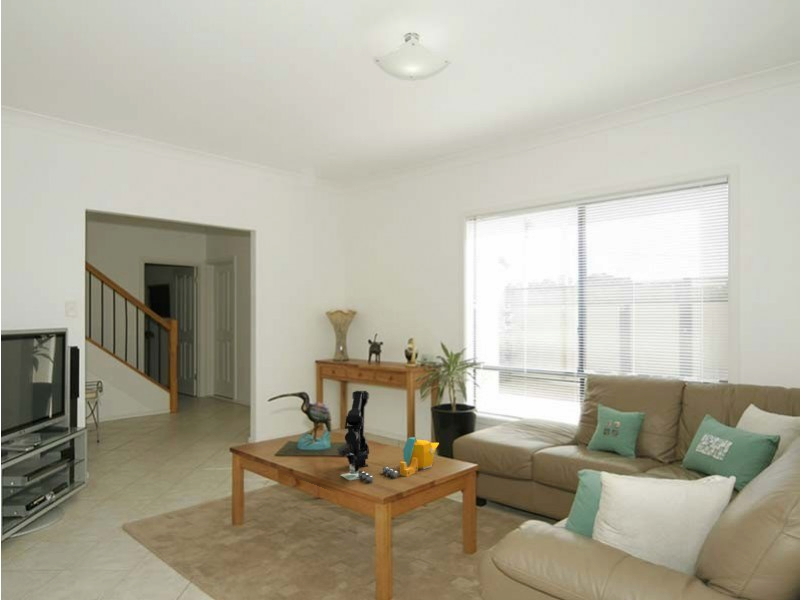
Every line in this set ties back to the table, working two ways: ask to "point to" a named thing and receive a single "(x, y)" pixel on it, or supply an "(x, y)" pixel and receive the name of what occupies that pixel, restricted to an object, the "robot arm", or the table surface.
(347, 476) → the sage mat
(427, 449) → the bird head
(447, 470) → the table surface
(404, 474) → the pipe clamp
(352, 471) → the stepped steel cylinder
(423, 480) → the table surface
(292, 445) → the table surface
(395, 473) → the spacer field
